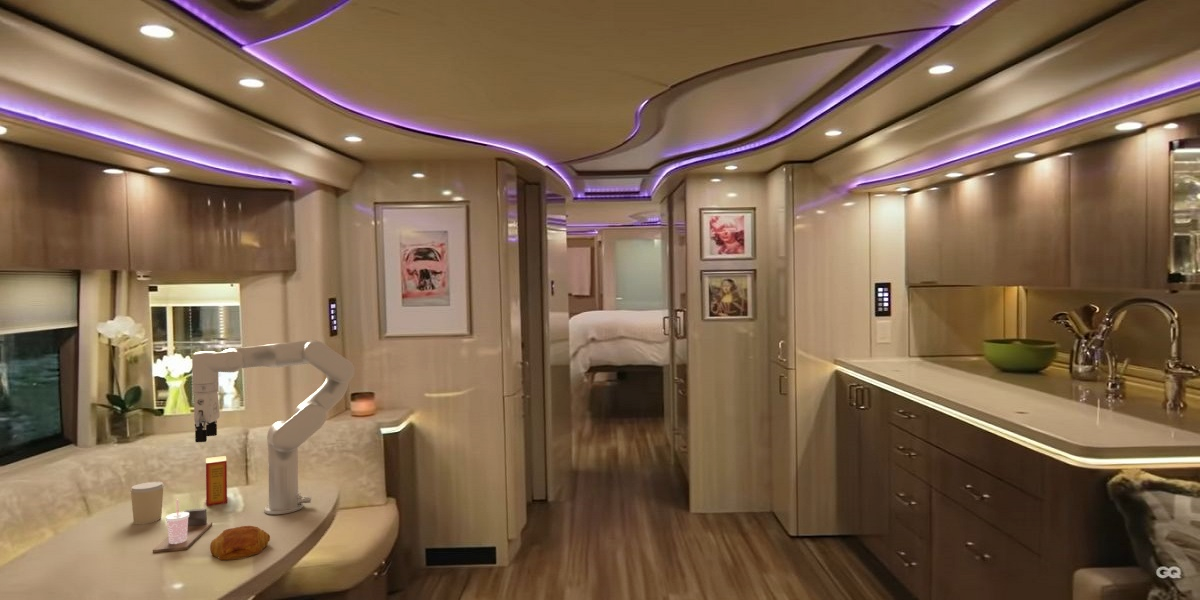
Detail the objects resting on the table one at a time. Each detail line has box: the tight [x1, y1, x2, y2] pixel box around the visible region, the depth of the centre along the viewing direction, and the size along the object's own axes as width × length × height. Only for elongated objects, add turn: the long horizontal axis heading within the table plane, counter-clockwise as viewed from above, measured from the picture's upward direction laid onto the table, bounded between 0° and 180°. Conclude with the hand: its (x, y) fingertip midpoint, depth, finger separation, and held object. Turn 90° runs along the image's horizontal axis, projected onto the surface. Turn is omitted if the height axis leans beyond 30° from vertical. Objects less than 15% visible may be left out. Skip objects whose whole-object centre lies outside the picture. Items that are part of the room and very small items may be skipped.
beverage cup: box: [165, 498, 189, 544], centre depth 199 cm, size 6×6×14 cm
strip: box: [152, 507, 213, 553], centre depth 204 cm, size 9×22×6 cm, turn 13°
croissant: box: [209, 525, 271, 561], centre depth 193 cm, size 14×16×8 cm
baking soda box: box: [205, 455, 228, 507], centre depth 241 cm, size 10×6×16 cm
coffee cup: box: [130, 481, 165, 525], centre depth 221 cm, size 9×9×12 cm
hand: (206, 438), depth 218 cm, fingers open, 9 cm apart
